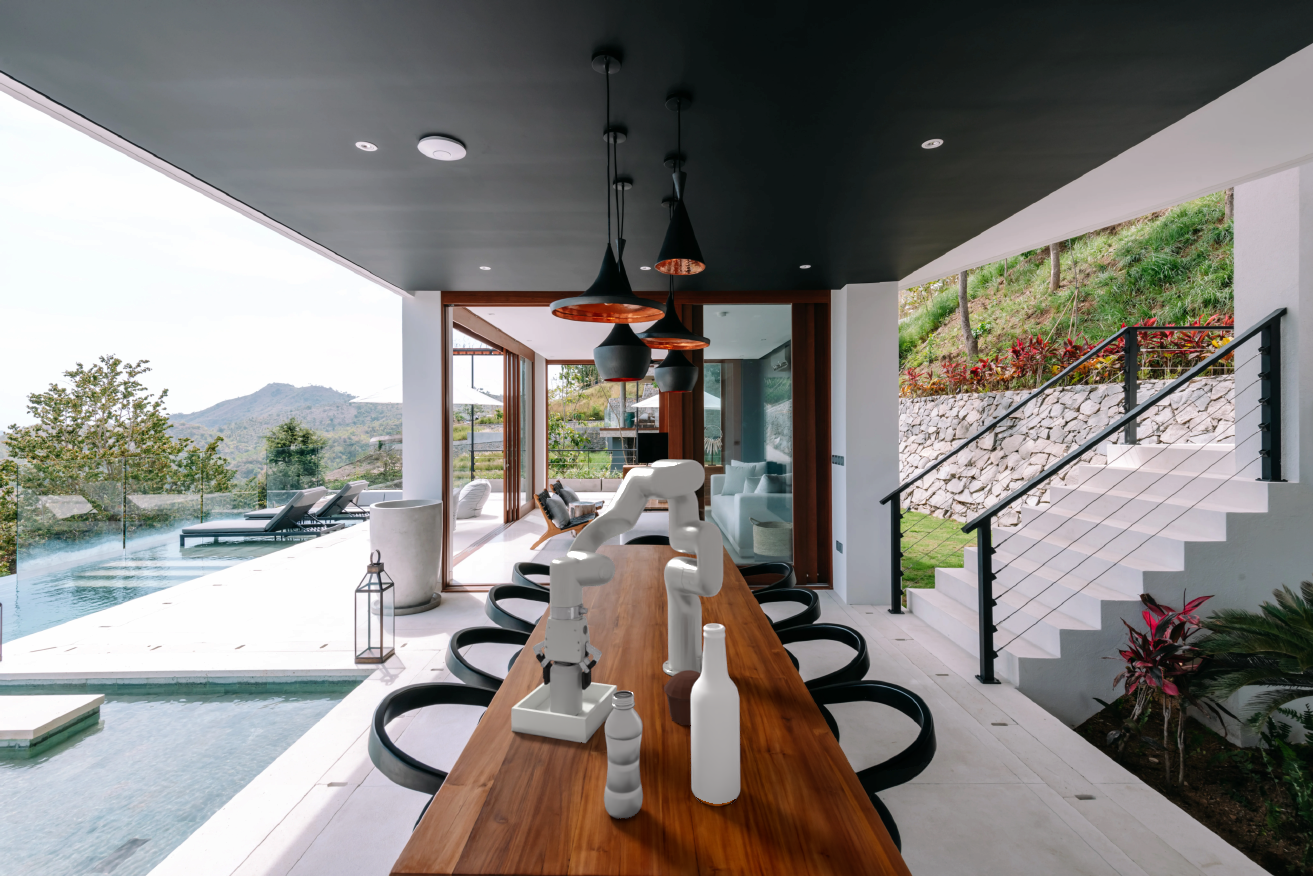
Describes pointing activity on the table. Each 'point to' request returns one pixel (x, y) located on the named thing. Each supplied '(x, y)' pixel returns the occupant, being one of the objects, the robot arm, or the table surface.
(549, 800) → the table surface
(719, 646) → the alcohol
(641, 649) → the table surface
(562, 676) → the can
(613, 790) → the plastic bottle
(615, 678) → the table surface
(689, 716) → the muffin
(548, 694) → the tote
